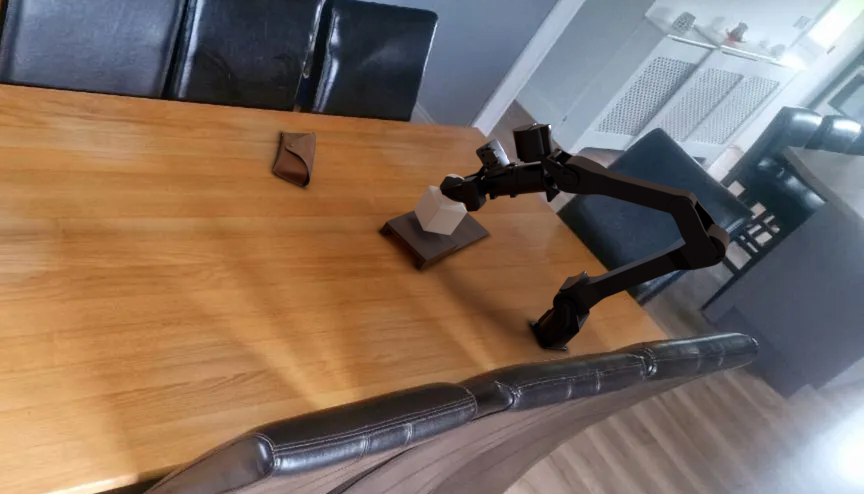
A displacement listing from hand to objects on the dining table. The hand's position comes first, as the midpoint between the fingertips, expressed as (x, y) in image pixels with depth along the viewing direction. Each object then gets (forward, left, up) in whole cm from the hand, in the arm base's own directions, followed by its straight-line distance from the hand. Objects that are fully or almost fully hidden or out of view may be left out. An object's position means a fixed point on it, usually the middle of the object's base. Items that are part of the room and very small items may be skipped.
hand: (447, 187), depth 148 cm
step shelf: (+1, -6, -13) cm, 14 cm away
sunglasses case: (+18, +26, -13) cm, 35 cm away
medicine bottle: (-1, -1, -9) cm, 9 cm away
